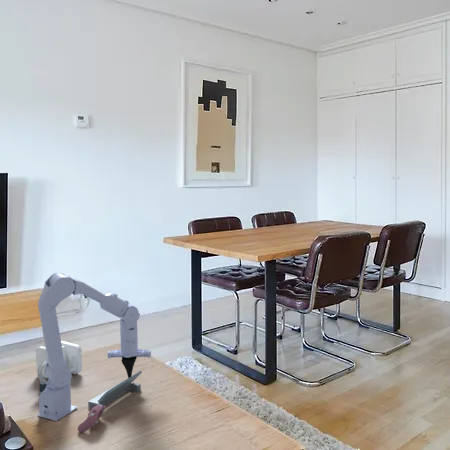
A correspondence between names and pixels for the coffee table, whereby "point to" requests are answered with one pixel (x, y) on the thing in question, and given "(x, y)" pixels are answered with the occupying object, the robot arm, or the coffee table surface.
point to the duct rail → (131, 386)
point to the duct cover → (119, 387)
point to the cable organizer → (70, 354)
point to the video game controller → (92, 418)
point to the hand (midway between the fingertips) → (130, 377)
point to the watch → (41, 378)
